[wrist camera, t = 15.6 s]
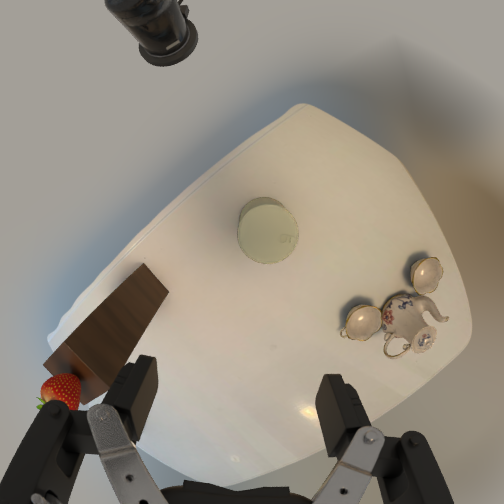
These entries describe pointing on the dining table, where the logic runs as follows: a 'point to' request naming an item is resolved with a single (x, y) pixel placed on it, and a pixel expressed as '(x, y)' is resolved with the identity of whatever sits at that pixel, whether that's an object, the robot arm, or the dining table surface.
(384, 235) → the dining table surface
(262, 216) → the can
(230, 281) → the dining table surface
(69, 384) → the fruit
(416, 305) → the chinaware
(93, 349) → the plinth
